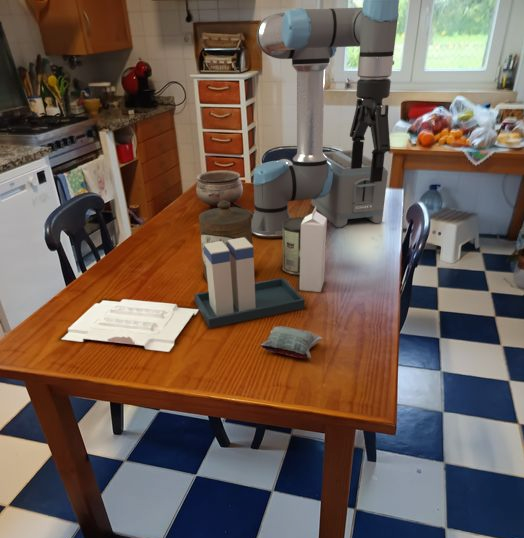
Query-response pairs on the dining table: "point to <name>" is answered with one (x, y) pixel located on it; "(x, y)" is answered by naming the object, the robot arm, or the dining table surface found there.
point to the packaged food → (291, 341)
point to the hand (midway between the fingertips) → (365, 174)
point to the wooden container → (224, 226)
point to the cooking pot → (219, 187)
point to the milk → (312, 252)
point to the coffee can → (292, 245)
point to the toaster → (352, 191)
